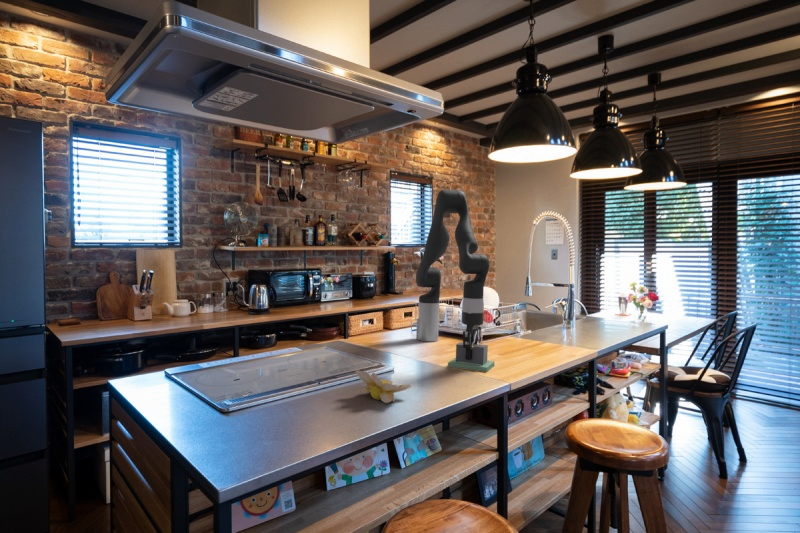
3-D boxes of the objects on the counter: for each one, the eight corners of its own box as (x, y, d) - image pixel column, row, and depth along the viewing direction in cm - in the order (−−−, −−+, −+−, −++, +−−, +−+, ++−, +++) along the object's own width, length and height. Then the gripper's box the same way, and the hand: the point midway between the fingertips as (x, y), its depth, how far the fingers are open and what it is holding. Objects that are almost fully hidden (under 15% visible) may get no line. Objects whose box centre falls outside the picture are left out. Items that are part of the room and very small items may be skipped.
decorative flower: (422, 394, 120) (414, 359, 119) (390, 413, 113) (381, 376, 112) (387, 385, 132) (380, 353, 131) (356, 401, 125) (348, 367, 124)
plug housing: (455, 361, 159) (456, 344, 159) (460, 358, 164) (460, 342, 164) (483, 364, 155) (483, 347, 155) (487, 362, 160) (487, 345, 159)
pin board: (447, 366, 158) (448, 351, 158) (457, 360, 167) (457, 346, 167) (486, 372, 152) (487, 355, 152) (494, 365, 161) (494, 350, 161)
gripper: (468, 307, 167) (467, 352, 168) (455, 311, 154) (454, 360, 155) (488, 309, 164) (487, 355, 164) (477, 313, 151) (475, 363, 151)
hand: (471, 357), depth 159 cm, fingers open, 6 cm apart
